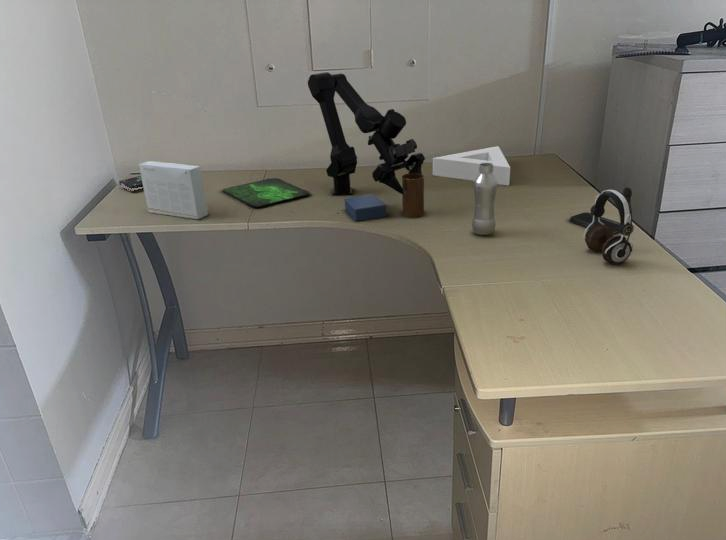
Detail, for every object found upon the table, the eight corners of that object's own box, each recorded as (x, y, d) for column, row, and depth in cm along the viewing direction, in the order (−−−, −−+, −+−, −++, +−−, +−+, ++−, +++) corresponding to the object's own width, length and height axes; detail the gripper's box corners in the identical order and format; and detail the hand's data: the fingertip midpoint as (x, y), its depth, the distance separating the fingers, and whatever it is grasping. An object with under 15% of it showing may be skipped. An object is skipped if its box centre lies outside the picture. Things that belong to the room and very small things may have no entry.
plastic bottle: (494, 238, 182) (498, 168, 172) (470, 237, 183) (473, 167, 173) (495, 230, 187) (499, 161, 177) (472, 229, 188) (475, 161, 178)
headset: (637, 268, 161) (652, 191, 151) (609, 272, 160) (622, 194, 150) (603, 244, 176) (614, 171, 166) (577, 247, 174) (586, 174, 164)
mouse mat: (220, 190, 228) (219, 187, 227) (274, 178, 239) (274, 175, 239) (255, 209, 209) (254, 206, 208) (312, 195, 220) (312, 192, 219)
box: (344, 210, 206) (343, 198, 204) (374, 206, 209) (374, 194, 207) (355, 221, 197) (355, 209, 195) (387, 216, 200) (386, 204, 198)
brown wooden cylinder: (402, 210, 204) (401, 173, 198) (422, 210, 204) (422, 172, 198) (403, 218, 198) (402, 179, 192) (424, 217, 198) (424, 179, 192)
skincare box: (209, 214, 206) (201, 165, 198) (198, 220, 202) (189, 170, 194) (159, 207, 214) (148, 159, 206) (147, 212, 210) (136, 164, 202)
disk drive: (133, 194, 228) (170, 184, 237) (131, 186, 227) (169, 176, 236) (120, 188, 235) (157, 178, 244) (118, 180, 233) (155, 171, 242)
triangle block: (509, 185, 224) (510, 167, 220) (434, 187, 224) (434, 169, 221) (497, 162, 250) (498, 145, 246) (430, 164, 250) (430, 147, 247)
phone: (586, 211, 195) (627, 225, 184) (585, 215, 195) (626, 228, 185) (568, 217, 191) (609, 231, 180) (567, 221, 192) (609, 235, 181)
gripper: (377, 137, 187) (404, 181, 185) (420, 126, 198) (447, 167, 196) (360, 159, 196) (386, 202, 194) (403, 148, 207) (428, 188, 205)
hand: (413, 189), depth 197 cm, fingers open, 9 cm apart
